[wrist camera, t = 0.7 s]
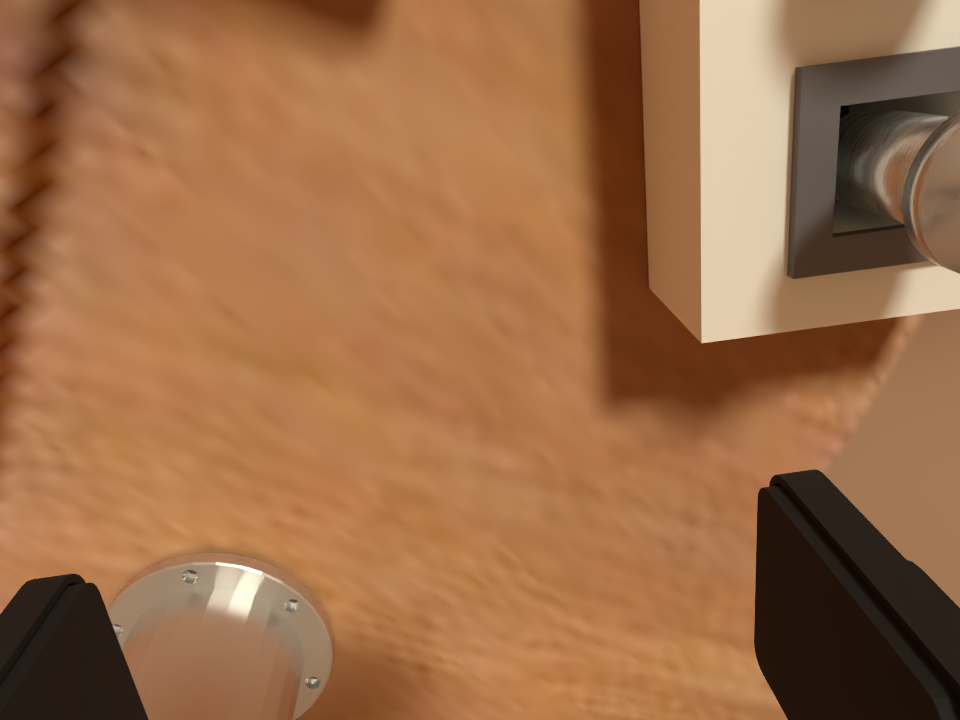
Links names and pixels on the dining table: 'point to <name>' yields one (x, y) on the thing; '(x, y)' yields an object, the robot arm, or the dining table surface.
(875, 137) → the grey peg
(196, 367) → the dining table surface
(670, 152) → the socket block
